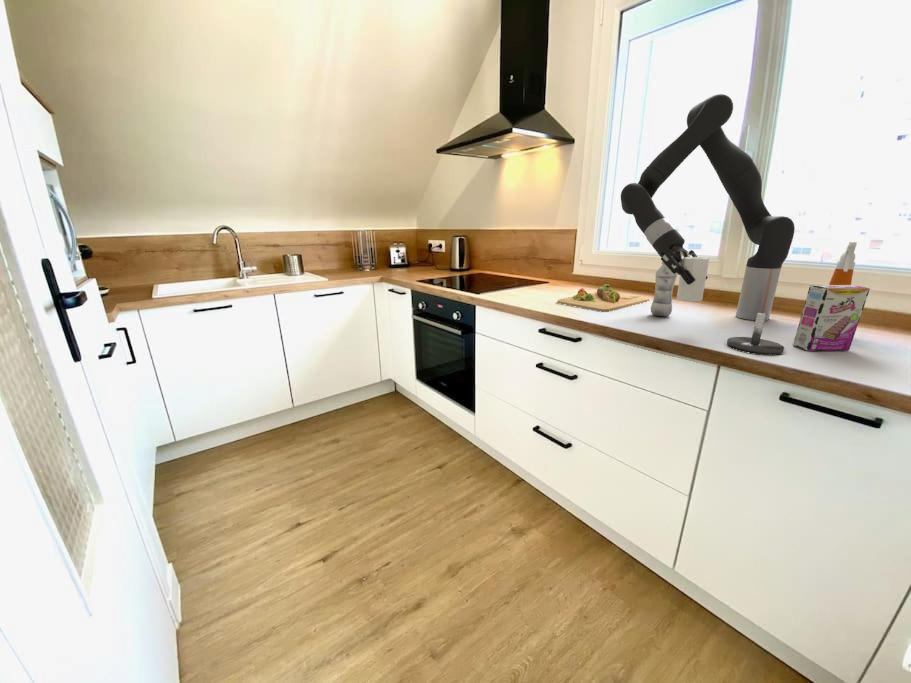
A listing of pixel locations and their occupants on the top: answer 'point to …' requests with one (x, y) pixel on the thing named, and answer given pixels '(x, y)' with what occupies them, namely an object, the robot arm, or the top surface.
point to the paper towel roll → (696, 289)
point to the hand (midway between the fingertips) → (698, 281)
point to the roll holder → (756, 341)
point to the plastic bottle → (663, 291)
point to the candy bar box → (830, 317)
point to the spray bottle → (845, 267)
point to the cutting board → (603, 299)
